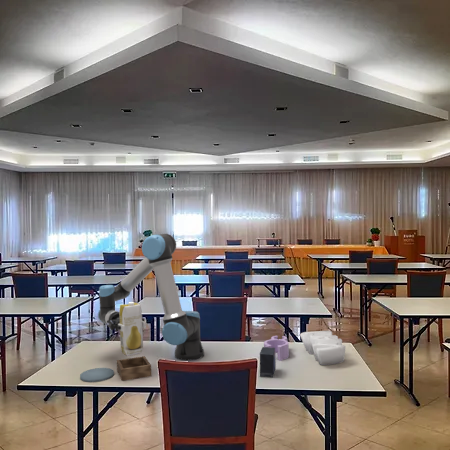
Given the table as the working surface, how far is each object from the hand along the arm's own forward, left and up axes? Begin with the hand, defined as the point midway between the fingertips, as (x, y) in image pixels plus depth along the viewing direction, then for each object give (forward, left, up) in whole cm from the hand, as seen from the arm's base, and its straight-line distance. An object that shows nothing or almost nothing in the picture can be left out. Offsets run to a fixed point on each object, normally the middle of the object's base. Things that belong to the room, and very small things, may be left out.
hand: (135, 327), depth 202 cm
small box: (-55, +23, -23) cm, 64 cm away
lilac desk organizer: (-72, +1, -23) cm, 76 cm away
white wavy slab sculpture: (-91, +14, -23) cm, 95 cm away
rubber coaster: (+17, -8, -22) cm, 29 cm away
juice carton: (+1, -4, -13) cm, 14 cm away
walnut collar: (+1, -4, -22) cm, 23 cm away
